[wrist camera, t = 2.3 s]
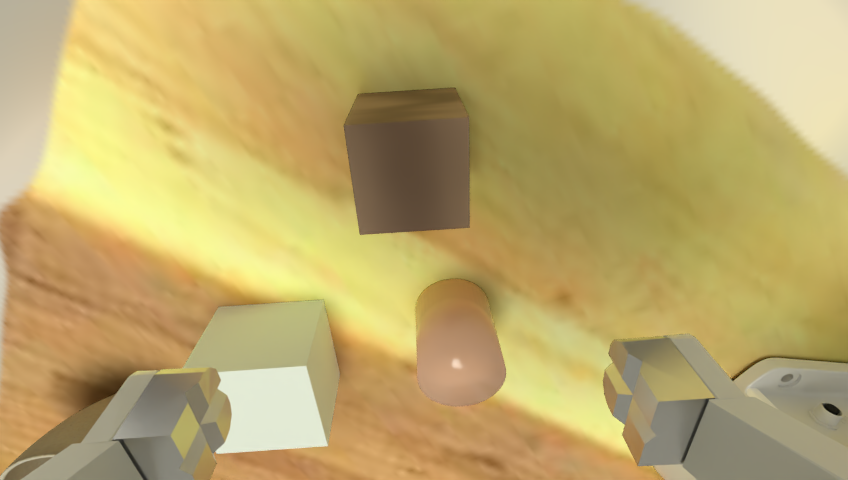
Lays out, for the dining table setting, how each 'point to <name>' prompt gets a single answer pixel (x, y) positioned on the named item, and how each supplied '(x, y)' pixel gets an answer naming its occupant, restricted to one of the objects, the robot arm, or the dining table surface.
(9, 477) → the flower pot
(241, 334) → the grey block
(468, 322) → the terracotta cylinder
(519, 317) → the dining table surface
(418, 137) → the walnut block
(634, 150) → the dining table surface
